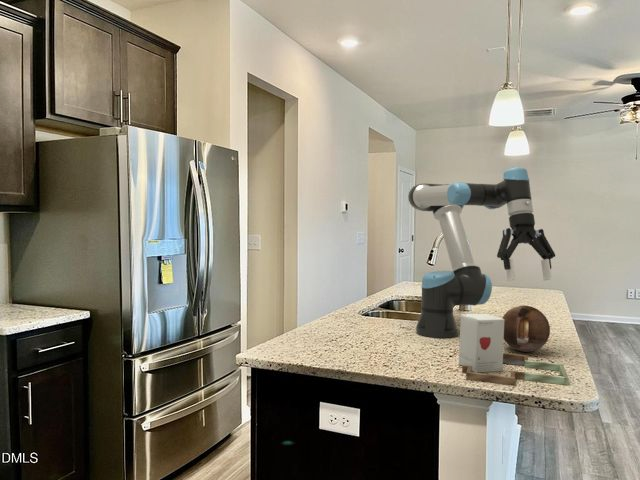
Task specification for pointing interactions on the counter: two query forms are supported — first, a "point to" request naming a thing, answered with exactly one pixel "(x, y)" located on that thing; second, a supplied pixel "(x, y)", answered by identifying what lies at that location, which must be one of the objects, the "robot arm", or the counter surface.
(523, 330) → the wooden sphere
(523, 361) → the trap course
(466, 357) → the supplement box
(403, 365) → the counter surface
